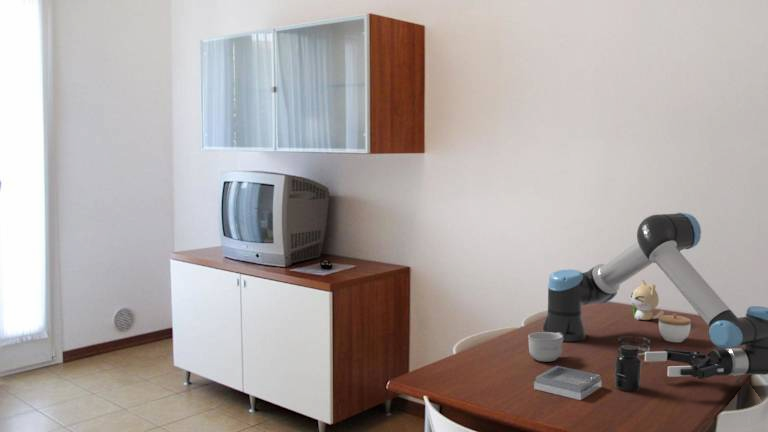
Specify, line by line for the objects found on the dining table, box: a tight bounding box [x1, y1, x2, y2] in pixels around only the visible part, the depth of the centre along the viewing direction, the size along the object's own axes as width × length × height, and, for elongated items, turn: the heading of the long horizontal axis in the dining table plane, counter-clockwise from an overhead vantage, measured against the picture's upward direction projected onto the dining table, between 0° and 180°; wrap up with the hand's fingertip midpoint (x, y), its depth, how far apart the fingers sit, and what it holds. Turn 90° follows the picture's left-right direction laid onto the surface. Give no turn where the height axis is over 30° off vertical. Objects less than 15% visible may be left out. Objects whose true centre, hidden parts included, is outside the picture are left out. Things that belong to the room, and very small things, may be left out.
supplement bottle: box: [614, 344, 642, 393], centre depth 207 cm, size 7×7×12 cm
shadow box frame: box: [533, 365, 603, 401], centre depth 207 cm, size 14×14×4 cm
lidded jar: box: [658, 313, 692, 343], centre depth 257 cm, size 11×11×9 cm
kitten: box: [630, 279, 665, 321], centre depth 286 cm, size 15×10×15 cm
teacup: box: [527, 331, 564, 363], centre depth 234 cm, size 14×11×8 cm
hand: (656, 363), depth 207 cm, fingers open, 13 cm apart
